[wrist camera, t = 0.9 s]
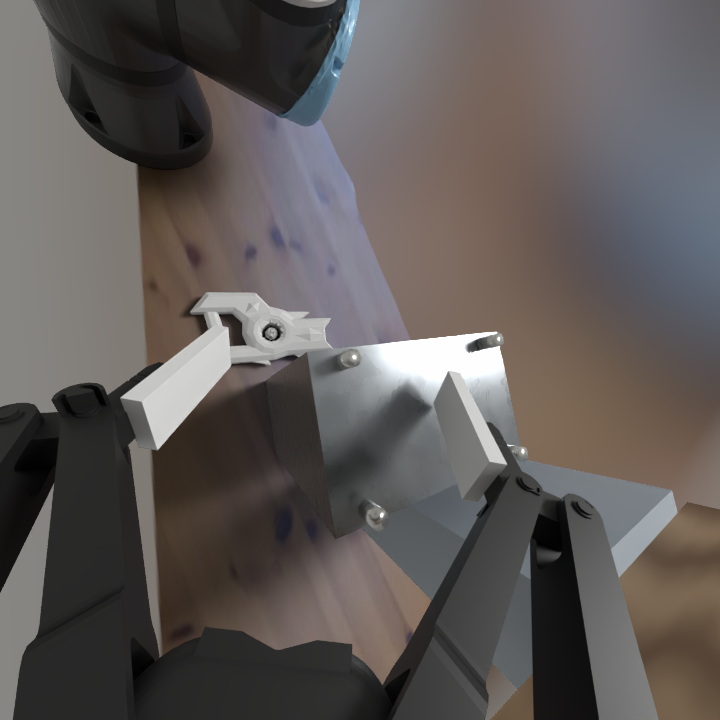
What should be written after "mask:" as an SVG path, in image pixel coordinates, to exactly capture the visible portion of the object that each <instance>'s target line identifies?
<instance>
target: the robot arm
mask: <svg viewBox="0 0 720 720" xmlns="http://www.w3.org/2000/svg"><path fill="white" fill-rule="evenodd" d="M33 1H34V3H35V4H36V6H37V8H38V10H39V12H40V14H41V16H42V18H43V20H44V22H45V24H46V26H47V28H48V33H49V39H50V44H51V50H52V55H53V61H54V66H55V71H56V77H57V81H58V85H59V88H60V90H61V93H62V95H63V97H64V99H65V101H66V103H67V104H68V106H69V108H70V110H71V111H72V113H73V115H74V117H75V118H76V120H77V121H78V123H79V124H80V125H81V127H82V128H83V129H84V130H85V131H86V132H87V133H88V134H89V135H90V136H91V137H92V138H93V139H94V140H95V141H96V142H98V143H99V144H100V145H101V146H103V147H104V148H106V149H107V150H109V151H110V152H112V153H114V154H116V155H118V156H119V157H122V158H124V159H126V160H128V161H131V162H133V163H136V164H139V165H143V166H147V167H152V168H158V169H178V168H184V167H188V166H191V165H193V164H195V163H197V162H199V161H200V160H201V159H203V158H204V157H205V156H206V154H207V153H208V151H209V150H210V148H211V145H212V140H213V131H212V121H211V114H210V111H209V107H208V104H207V102H206V99H205V97H204V95H203V92H202V90H201V88H200V85H199V83H198V81H197V78H196V76H195V74H194V71H193V69H195V70H197V71H199V72H200V73H202V74H204V75H206V76H208V77H209V78H211V79H213V80H215V81H217V82H218V83H220V84H222V85H224V86H226V87H227V88H229V89H231V90H233V91H234V92H236V93H238V94H240V95H242V96H243V97H245V98H247V99H249V100H251V101H252V102H254V103H256V104H258V105H260V106H261V107H263V108H265V109H267V110H269V111H270V112H272V113H274V114H276V115H277V116H278V117H280V118H286V119H288V120H291V121H293V122H295V123H297V124H300V125H302V126H311V125H313V124H315V123H316V122H317V121H318V120H319V119H320V118H321V116H322V115H323V113H324V111H325V110H326V108H327V106H328V104H329V102H330V99H331V97H332V95H333V93H334V90H335V88H336V85H337V83H338V80H339V76H340V70H341V69H342V66H343V64H344V62H345V60H346V57H347V54H348V51H349V48H350V45H351V41H352V38H353V34H354V30H355V26H356V22H357V16H358V10H359V3H360V0H33ZM192 68H193V69H192ZM230 367H231V356H230V343H229V331H228V327H223V326H218V325H214V326H213V327H212V328H210V329H209V330H208V331H206V332H205V333H204V334H202V335H201V336H200V337H199V338H197V339H196V340H195V341H193V342H192V343H191V344H189V345H188V346H187V347H186V348H184V349H183V350H182V351H180V352H179V353H178V354H176V355H175V356H174V357H173V358H171V359H170V360H169V361H167V362H166V363H159V362H158V363H156V364H153V365H151V366H148V367H146V368H145V369H143V370H142V371H141V372H139V373H138V374H137V375H135V376H134V377H132V378H131V379H130V380H129V381H127V382H125V383H124V384H122V385H121V386H120V387H118V388H117V389H116V390H114V391H113V392H111V393H110V394H109V395H107V394H106V391H105V389H104V387H103V386H102V385H100V384H97V383H83V384H77V385H73V386H70V387H67V388H65V389H63V390H61V391H59V392H58V393H56V394H55V395H54V397H53V398H52V402H53V404H54V405H55V407H56V409H57V411H58V412H53V413H40V412H39V410H38V409H37V407H36V406H35V405H34V404H30V403H16V404H10V405H6V406H2V407H0V592H1V590H2V588H3V586H4V584H5V582H6V580H7V578H8V576H9V574H10V572H11V570H12V567H13V566H14V564H15V561H16V559H17V557H18V555H19V553H20V551H21V549H22V547H23V545H24V543H25V541H26V539H27V537H28V535H29V533H30V531H31V529H32V527H33V525H34V523H35V520H36V519H37V517H38V515H39V512H40V510H41V508H42V506H43V504H44V502H45V500H46V498H47V496H48V494H49V492H50V490H51V488H52V486H53V484H54V492H53V501H52V511H51V520H50V530H49V539H48V549H47V558H46V568H45V577H44V587H43V597H42V606H41V616H40V625H39V630H38V634H37V636H36V638H35V639H34V640H33V641H32V642H31V643H30V644H29V645H28V646H27V648H26V650H25V652H24V654H23V656H22V661H21V666H20V671H19V678H18V686H17V693H16V701H15V709H14V716H13V720H485V717H486V712H487V708H488V696H489V695H488V693H487V690H486V680H487V676H488V673H489V669H490V666H491V663H492V660H493V657H494V654H495V650H496V647H497V644H498V641H499V638H500V634H501V631H502V628H503V625H504V622H505V619H506V615H507V612H508V609H509V606H510V603H511V600H512V596H513V593H514V590H515V587H516V584H517V581H518V577H519V574H520V571H521V568H522V565H523V562H524V558H525V555H526V552H527V549H528V546H529V542H530V573H531V621H532V668H533V716H534V720H659V719H658V715H657V712H656V708H655V705H654V701H653V697H652V694H651V690H650V687H649V683H648V680H647V676H646V673H645V669H644V665H643V662H642V658H641V655H640V651H639V648H638V644H637V641H636V637H635V633H634V630H633V626H632V623H631V619H630V616H629V612H628V609H627V605H626V601H625V598H624V594H623V591H622V587H621V584H620V580H619V577H618V573H617V570H616V566H615V562H614V559H613V555H612V552H611V548H610V545H609V541H608V538H607V534H606V530H605V527H604V523H603V520H602V518H601V516H600V514H599V512H598V511H597V510H596V509H595V507H594V506H593V505H592V504H590V503H589V502H588V501H587V500H585V499H584V498H582V497H580V496H578V495H576V494H571V493H568V494H566V495H565V496H564V497H563V498H562V499H561V498H559V497H556V496H554V495H552V494H550V493H547V492H545V491H543V489H542V487H541V486H540V484H539V483H538V482H537V481H536V480H535V479H534V478H533V477H532V476H530V475H528V474H527V473H525V472H522V470H521V468H520V467H519V465H518V463H517V461H516V459H515V458H514V456H513V454H512V452H511V450H510V449H509V448H508V445H507V443H506V442H505V441H504V438H503V436H502V434H501V433H500V431H499V430H498V429H497V428H496V427H495V426H494V425H493V424H492V423H490V422H485V420H484V418H483V416H482V414H481V412H480V411H479V409H478V407H477V405H476V403H475V401H474V399H473V397H472V395H471V393H470V391H469V389H468V387H467V385H466V383H465V381H464V379H463V377H462V376H461V374H460V373H459V372H454V371H449V370H448V372H447V374H446V377H445V379H444V381H443V383H442V385H441V387H440V390H439V392H438V394H437V396H436V398H435V400H434V403H433V404H434V408H435V411H436V414H437V418H438V421H439V424H440V428H441V431H442V434H443V438H444V441H445V444H446V448H447V451H448V454H449V458H450V461H451V464H452V468H453V471H454V474H455V478H456V481H457V484H458V488H459V491H460V494H461V498H462V499H463V500H469V501H475V502H478V501H479V500H480V499H481V497H482V496H483V495H484V496H485V498H486V501H487V503H486V504H485V505H484V507H483V508H482V509H481V510H480V511H479V513H478V514H477V516H478V518H477V519H476V521H475V523H474V525H473V527H472V528H471V530H470V532H469V534H468V536H467V538H466V539H465V541H464V543H463V545H462V547H461V549H460V550H459V552H458V554H457V556H456V558H455V559H454V561H453V563H452V565H451V567H450V569H449V570H448V572H447V574H446V576H445V578H444V579H443V581H442V583H441V585H440V587H439V589H438V590H437V592H436V594H435V596H434V598H433V600H432V601H431V603H430V605H429V607H428V609H427V610H426V612H425V614H424V616H423V618H422V620H421V621H420V623H419V625H418V627H417V629H416V630H415V632H414V634H413V636H412V638H411V640H410V641H409V643H408V645H407V647H406V649H405V650H404V652H403V653H402V655H401V656H400V658H399V659H398V660H397V662H396V663H395V665H394V666H393V668H392V670H391V671H390V673H389V675H388V677H387V678H386V680H385V682H384V684H383V685H382V684H381V682H380V681H379V679H378V678H377V677H376V675H375V674H374V673H373V671H372V670H371V669H370V668H369V667H368V666H367V665H366V664H365V663H364V662H363V661H362V660H360V659H359V658H358V657H356V656H355V655H353V654H352V644H345V643H336V642H328V641H319V640H316V641H313V642H309V643H305V644H301V645H297V646H293V647H290V648H286V649H282V650H275V649H273V648H271V647H269V646H267V645H265V644H264V643H262V642H260V641H258V640H256V639H255V638H253V637H251V636H249V635H248V634H246V633H244V632H242V631H234V630H226V629H217V628H209V627H205V628H204V631H203V633H202V636H201V637H199V638H195V639H192V640H190V641H187V642H185V643H183V644H181V645H179V646H177V647H175V648H174V649H172V650H170V651H169V652H167V653H166V654H165V655H163V656H162V657H160V658H159V651H158V644H157V640H156V635H155V632H154V628H153V626H152V621H151V616H150V608H149V599H148V592H147V584H146V575H145V567H144V560H143V551H142V544H141V536H140V528H139V520H138V511H137V504H136V497H135V487H134V479H133V472H132V463H131V456H130V449H129V447H128V445H129V443H131V442H132V441H133V439H135V438H136V441H137V444H138V446H139V447H140V448H146V449H153V450H158V449H159V448H160V447H161V446H162V445H163V444H164V442H165V441H166V440H167V439H168V438H169V437H170V436H171V434H172V433H173V432H174V431H175V430H176V429H177V427H178V426H179V425H180V424H181V423H182V422H183V421H184V419H185V418H186V417H187V416H188V415H189V414H190V413H191V411H192V410H193V409H194V408H195V407H196V406H197V405H198V403H199V402H200V401H201V400H202V399H203V398H204V397H205V395H206V394H207V393H208V392H209V391H210V390H211V388H212V387H213V386H214V385H215V384H216V383H217V382H218V380H219V379H220V378H221V377H222V376H223V375H224V374H225V372H226V371H227V370H228V369H229V368H230Z"/></svg>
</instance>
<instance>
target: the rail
mask: <svg viewBox="0 0 720 720" xmlns="http://www.w3.org/2000/svg"><path fill="white" fill-rule="evenodd" d="M619 580H620V584H621V587H622V591H623V594H624V598H625V601H626V605H627V609H628V612H629V616H630V619H631V623H632V626H633V630H634V633H635V637H636V641H637V644H638V648H639V651H640V655H641V658H642V662H643V665H644V669H645V673H646V676H647V680H648V683H649V687H650V690H651V694H652V697H653V701H654V705H655V708H656V712H657V715H658V719H659V720H720V510H719V509H715V508H710V507H706V506H702V505H697V504H693V503H688V502H687V503H686V504H685V506H683V508H682V509H681V510H680V511H679V512H678V513H677V514H676V515H675V516H674V517H673V519H672V520H671V521H670V522H669V523H668V524H667V525H666V526H665V527H664V529H663V530H662V531H661V532H660V533H659V534H658V535H657V536H656V537H655V538H654V540H653V541H652V542H651V543H650V544H649V545H648V546H647V547H646V548H645V550H644V551H643V552H642V553H641V554H640V555H639V556H638V557H637V558H636V559H635V561H634V562H633V563H632V564H631V565H630V566H629V567H628V568H627V569H626V571H625V572H624V573H623V574H622V575H621V576H620V577H619ZM491 720H534V716H533V673H532V674H531V676H530V677H529V678H528V679H527V680H526V681H525V682H524V683H523V684H522V686H521V687H520V688H519V689H518V690H517V691H516V692H515V693H514V695H513V696H512V697H511V698H510V699H509V700H508V701H507V702H506V703H505V704H504V705H503V707H502V708H501V709H500V710H499V711H498V712H497V713H496V714H495V715H494V717H493V718H492V719H491Z"/></svg>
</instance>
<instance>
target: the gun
mask: <svg viewBox="0 0 720 720" xmlns="http://www.w3.org/2000/svg"><path fill="white" fill-rule="evenodd" d="M190 313H191V315H204V317H205V320H206V323H207V327H208V330H209V329H210V328H212V327H213V326H214V325H218V326H222V323H221V320H220V317H219V314H233V315H234V316H235V317H236V318H237V319H238V320H239V321H241V322H242V336H243V338H244V340H245V342H246V344H247V346H230V356H231V364H238V363H250V362H253V363H260V364H266V365H271V363H270V362H269V361H273V360H277V359H280V358H282V357H285V356H292V355H295V356H297V357H300V356H302V355H303V354H304V353H306V352H309V351H318V350H328V349H333V348H332V347H331V346H330V345H329V344H328V343H327V342H326V336H325V327H326V325H327V324H328V322H329V321H330V319H331V318H311V319H302V318H304V317H305V316H306V315H307V314H308V313H309V312H285V311H284V310H282V309H278V308H274V307H269V306H268V305H267V304H266V303H265V302H264V301H263V300H262V299H261V298H260V297H259V296H258V295H257V294H256V293H223V292H206V293H205V294H204V295H203V297H202V298H201V299H200V300H199V301H198V303H197V304H196V305H195V306H194V308H193V309H192V310H191V311H190ZM270 325H271V326H272V327H276V329H279V332H280V338H279V339H278V340H276V341H271V342H270V341H267V340H265V337H264V338H263V337H262V333H261V332H263V330H264V329H265V328H267V327H270ZM272 327H271V328H268V329H267V331H265V334H266V337H267V338H268V339H270V340H273V339H275V338H276V337H277V333H278V332H277V330H276V329H275V328H272Z"/></svg>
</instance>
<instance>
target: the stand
mask: <svg viewBox="0 0 720 720" xmlns="http://www.w3.org/2000/svg"><path fill="white" fill-rule="evenodd" d="M516 461H517V463H518V465H519V467H520V468H521V470H522V472H525V473H527V474H528V475H530V476H532V477H533V478H534V479H535V480H536V481H537V482H538V483H539V484H540V486H541V487H542V489H543V491H545V492H547V493H550V494H552V495H554V496H556V497H559V498H561V499H562V498H563V497H564V496H565V495H566V494H568V493H571V494H576V495H578V496H580V497H582V498H584V499H585V500H587V501H588V502H589V503H590V504H592V505H593V506H594V507H595V509H596V510H597V511H598V512H599V514H600V516H601V518H602V520H603V523H604V527H605V530H606V534H607V538H608V541H609V545H610V548H611V552H612V555H613V559H614V562H615V566H616V570H617V573H618V577H620V576H621V575H622V574H623V573H624V572H625V571H626V569H627V568H628V567H629V566H630V565H631V564H632V563H633V562H634V561H635V559H636V558H637V557H638V556H639V555H640V554H641V553H642V552H643V551H644V550H645V548H646V547H647V546H648V545H649V544H650V543H651V542H652V541H653V540H654V538H655V537H656V536H657V535H658V534H659V533H660V532H661V531H662V530H663V529H664V527H665V526H666V525H667V524H668V523H669V522H670V521H671V520H672V519H673V517H674V516H675V515H676V514H677V513H678V512H677V508H676V504H675V501H674V496H673V492H672V490H668V489H663V488H658V487H653V486H648V485H644V484H639V483H634V482H630V481H625V480H620V479H615V478H610V477H605V476H601V475H596V474H591V473H586V472H581V471H577V470H572V469H567V468H562V467H557V466H552V465H548V464H543V463H538V462H533V461H528V460H526V461H525V462H522V461H518V460H516ZM486 503H487V501H486V498H485V496H484V495H483V496H482V497H481V499H480V500H479V501H478V502H475V501H469V500H463V499H462V498H461V494H460V491H459V488H458V484H455V485H453V486H451V487H449V488H446V489H444V490H442V491H440V492H438V493H436V494H433V495H431V496H429V497H427V498H425V499H422V500H420V501H418V502H416V503H414V504H411V505H409V506H407V507H405V508H403V509H400V510H398V511H396V512H394V513H392V514H389V515H388V524H387V526H386V527H385V528H384V529H383V530H381V531H376V530H374V529H373V528H372V527H371V526H370V525H369V524H367V525H365V526H363V527H361V528H362V529H363V530H364V531H365V532H366V533H367V534H368V535H369V536H370V537H371V538H372V539H373V540H374V541H375V542H376V543H377V544H378V545H379V546H380V548H381V549H382V550H383V551H384V552H385V553H386V554H387V555H388V556H389V557H390V558H391V559H392V560H393V561H394V562H395V563H396V564H397V565H398V566H399V567H400V568H401V569H402V570H403V571H404V572H405V573H406V574H407V575H408V576H409V577H410V579H411V580H412V581H413V582H414V583H415V584H416V585H417V586H418V587H419V588H420V589H421V590H422V591H423V592H424V593H425V594H426V595H427V596H428V597H429V598H430V599H431V600H433V598H434V596H435V594H436V592H437V590H438V589H439V587H440V585H441V583H442V581H443V579H444V578H445V576H446V574H447V572H448V570H449V569H450V567H451V565H452V563H453V561H454V559H455V558H456V556H457V554H458V552H459V550H460V549H461V547H462V545H463V543H464V541H465V539H466V538H467V536H468V534H469V532H470V530H471V528H472V527H473V525H474V523H475V521H476V519H477V518H478V516H477V514H478V513H479V511H480V510H481V509H482V508H483V507H484V505H485V504H486ZM492 663H493V664H494V665H495V666H496V667H497V668H498V669H499V670H500V672H502V673H503V675H504V676H505V677H506V678H507V679H508V680H509V681H510V682H511V683H512V684H513V685H514V686H515V687H516V688H517V689H519V688H520V687H521V686H522V684H523V683H524V682H525V681H526V680H527V679H528V678H529V677H530V676H531V674H532V673H533V668H532V621H531V573H530V542H529V546H528V549H527V552H526V555H525V558H524V562H523V565H522V568H521V571H520V574H519V577H518V581H517V584H516V587H515V590H514V593H513V596H512V600H511V603H510V606H509V609H508V612H507V615H506V619H505V622H504V625H503V628H502V631H501V634H500V638H499V641H498V644H497V647H496V650H495V654H494V657H493V660H492Z"/></svg>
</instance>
